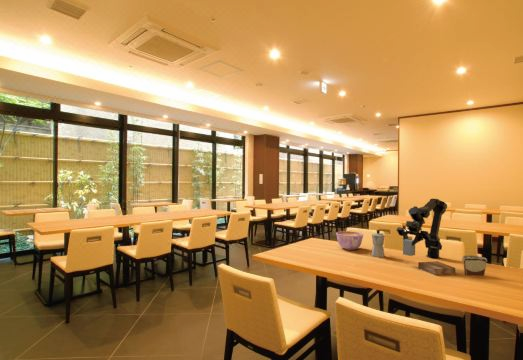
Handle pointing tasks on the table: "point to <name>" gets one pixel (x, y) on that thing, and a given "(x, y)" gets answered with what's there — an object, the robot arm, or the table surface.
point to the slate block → (408, 247)
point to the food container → (474, 265)
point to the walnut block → (436, 268)
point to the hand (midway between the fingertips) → (408, 244)
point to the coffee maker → (378, 245)
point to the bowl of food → (349, 239)
